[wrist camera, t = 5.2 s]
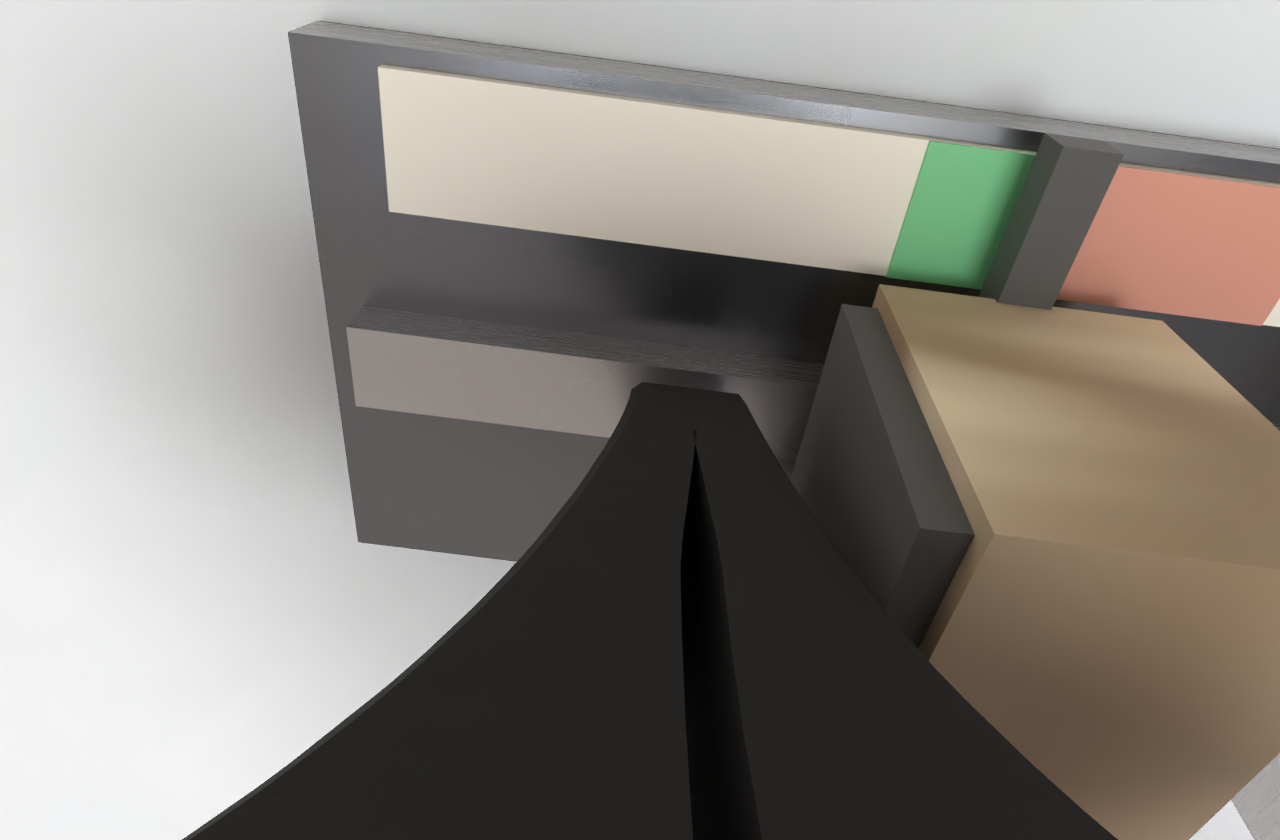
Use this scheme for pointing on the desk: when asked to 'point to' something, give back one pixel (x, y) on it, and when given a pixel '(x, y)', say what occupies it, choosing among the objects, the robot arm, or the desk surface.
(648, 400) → the robot arm
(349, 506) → the desk surface
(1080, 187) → the gauge slider
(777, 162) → the gauge bed
